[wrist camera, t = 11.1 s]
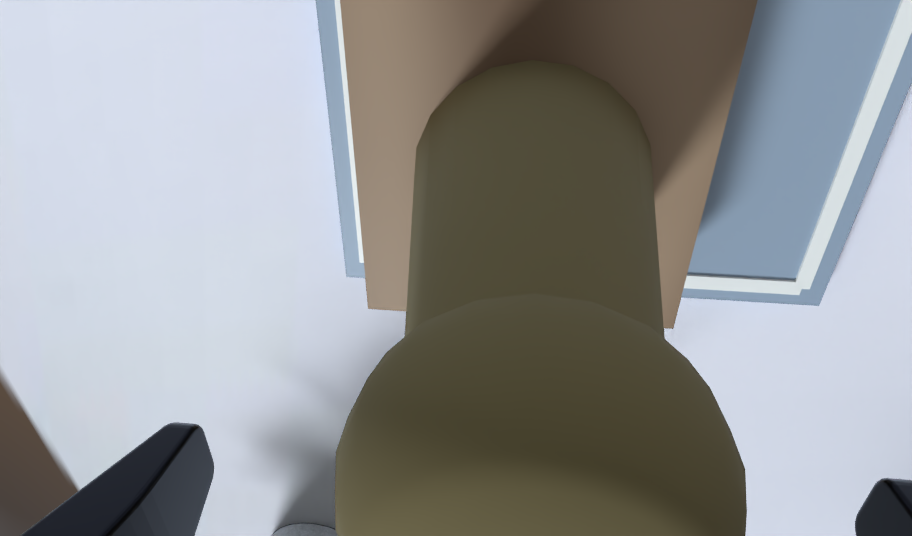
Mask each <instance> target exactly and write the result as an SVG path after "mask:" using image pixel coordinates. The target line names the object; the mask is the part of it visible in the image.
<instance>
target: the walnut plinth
mask: <svg viewBox="0 0 912 536" xmlns="http://www.w3.org/2000/svg"><path fill="white" fill-rule="evenodd" d="M757 1H758V0H340V6H341V17H342V28H343V39H344V50H345V61H346V72H347V83H348V94H349V104H350V115H351V126H352V137H353V148H354V159H355V170H356V181H357V192H358V203H359V214H360V225H361V236H362V247H363V258H364V269H365V280H366V291H367V302H368V309H380V310H395V311H406V308H407V291H408V274H409V257H410V240H411V223H412V205H413V188H414V173H415V159H416V147H417V145H418V142H419V140H420V138H421V136H422V133H423V131H424V129H425V126H426V124H427V122H428V119H429V117H430V115H431V114H432V113H433V112H434V111H435V109H436V108H437V107H438V106H439V105H440V104H441V103H442V102H443V101H444V100H445V99H446V98H447V96H448V95H449V94H450V93H451V92H452V91H453V90H454V89H455V88H456V87H457V86H459V85H461V84H463V83H464V82H466V81H468V80H470V79H472V78H474V77H475V76H477V75H479V74H481V73H483V72H484V71H486V70H488V69H490V68H492V67H498V66H503V65H508V64H514V63H519V62H524V61H530V60H535V61H543V62H551V63H558V64H566V65H573V66H575V67H577V68H579V69H581V70H583V71H585V72H587V73H589V74H591V75H593V76H595V77H597V78H600V79H602V80H604V81H606V82H608V83H609V84H610V85H611V86H612V87H613V88H614V89H615V90H616V91H617V92H618V93H619V94H620V95H621V96H622V97H623V98H624V99H625V100H626V101H627V102H628V103H629V104H630V105H631V106H632V107H633V108H634V109H635V110H636V112H637V115H638V117H639V119H640V122H641V124H642V126H643V128H644V131H645V133H646V135H647V138H648V140H649V142H650V146H651V160H652V174H653V187H654V201H655V215H656V229H657V242H658V256H659V270H660V284H661V298H662V311H663V325H664V328H672V329H673V327H674V323H675V319H676V315H677V312H678V308H679V304H680V300H681V296H682V292H683V288H684V284H685V281H686V277H687V273H688V269H689V265H690V261H691V257H692V253H693V250H694V246H695V242H696V238H697V234H698V230H699V226H700V222H701V218H702V215H703V211H704V207H705V203H706V199H707V195H708V191H709V187H710V184H711V180H712V176H713V172H714V168H715V164H716V160H717V156H718V152H719V149H720V145H721V141H722V137H723V133H724V129H725V125H726V121H727V118H728V114H729V110H730V106H731V102H732V98H733V94H734V90H735V87H736V83H737V79H738V75H739V71H740V67H741V63H742V59H743V55H744V52H745V48H746V44H747V40H748V36H749V32H750V28H751V24H752V21H753V17H754V13H755V9H756V5H757Z"/></svg>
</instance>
